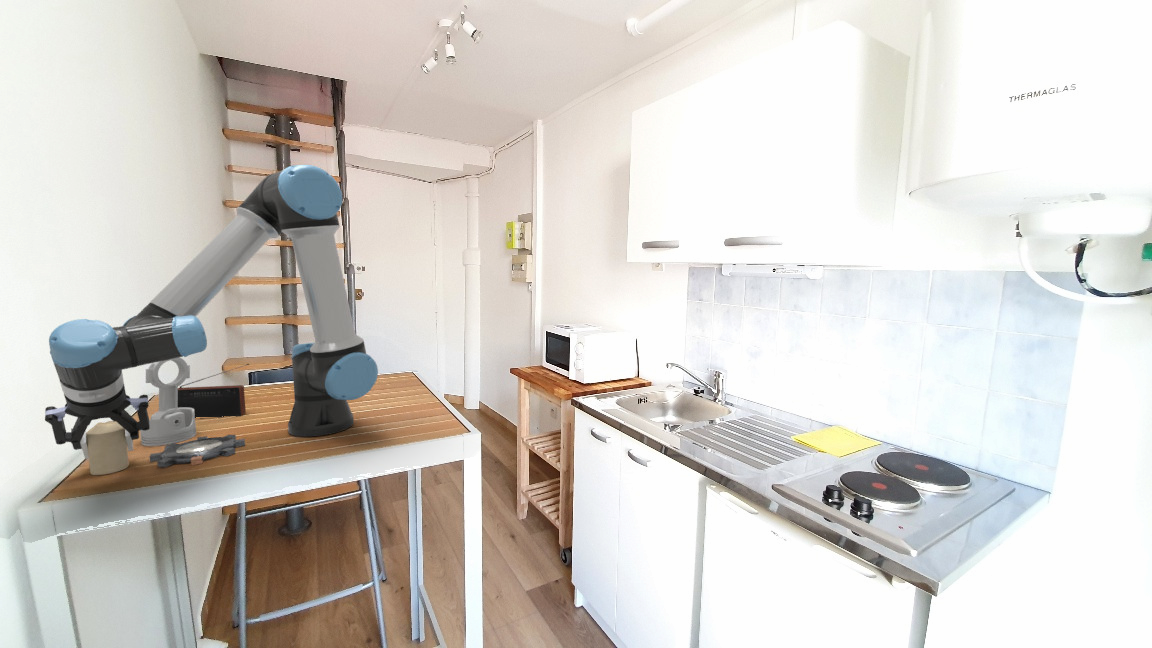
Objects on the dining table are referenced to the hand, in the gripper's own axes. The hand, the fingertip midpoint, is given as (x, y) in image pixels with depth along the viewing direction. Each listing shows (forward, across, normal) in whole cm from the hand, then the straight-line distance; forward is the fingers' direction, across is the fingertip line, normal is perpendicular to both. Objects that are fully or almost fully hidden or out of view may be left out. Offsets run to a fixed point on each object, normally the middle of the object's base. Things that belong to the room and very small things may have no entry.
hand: (109, 449), depth 94 cm
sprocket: (0, +14, -5) cm, 15 cm away
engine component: (+11, +10, +6) cm, 16 cm away
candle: (0, 0, -5) cm, 5 cm away
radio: (+22, +19, +17) cm, 33 cm away
